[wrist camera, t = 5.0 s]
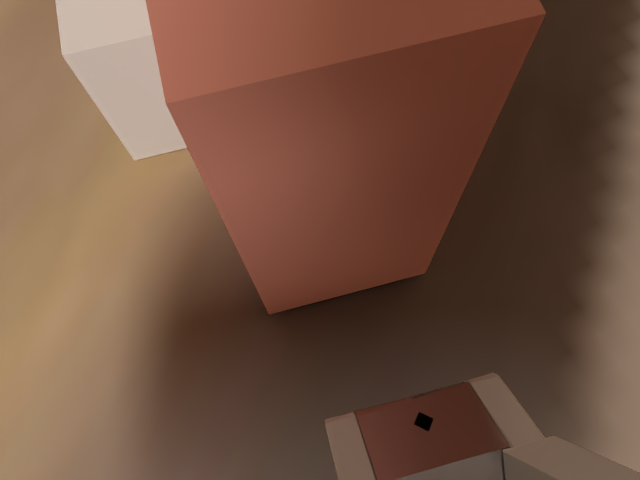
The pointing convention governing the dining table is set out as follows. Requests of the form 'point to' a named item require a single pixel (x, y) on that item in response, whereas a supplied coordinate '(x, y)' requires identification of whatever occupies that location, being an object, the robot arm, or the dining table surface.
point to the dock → (119, 70)
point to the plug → (337, 126)
